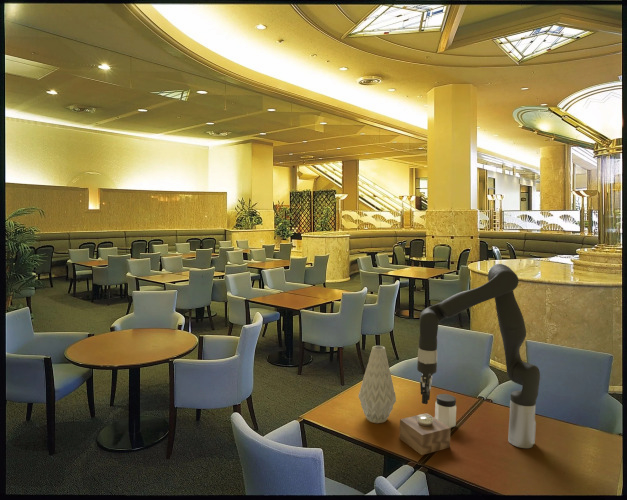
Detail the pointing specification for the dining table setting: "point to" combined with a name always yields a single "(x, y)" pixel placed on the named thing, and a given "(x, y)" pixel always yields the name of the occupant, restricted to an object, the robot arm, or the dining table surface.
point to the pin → (425, 420)
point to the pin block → (424, 435)
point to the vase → (377, 387)
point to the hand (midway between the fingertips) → (425, 401)
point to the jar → (446, 409)
